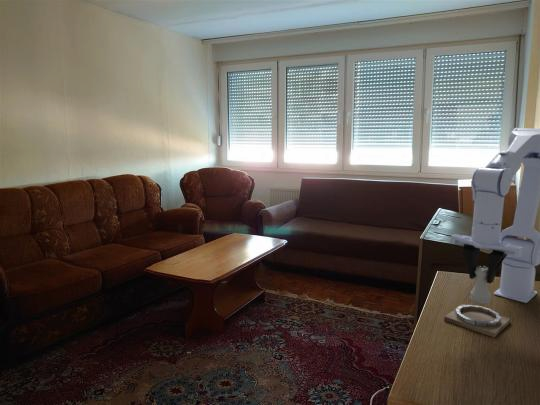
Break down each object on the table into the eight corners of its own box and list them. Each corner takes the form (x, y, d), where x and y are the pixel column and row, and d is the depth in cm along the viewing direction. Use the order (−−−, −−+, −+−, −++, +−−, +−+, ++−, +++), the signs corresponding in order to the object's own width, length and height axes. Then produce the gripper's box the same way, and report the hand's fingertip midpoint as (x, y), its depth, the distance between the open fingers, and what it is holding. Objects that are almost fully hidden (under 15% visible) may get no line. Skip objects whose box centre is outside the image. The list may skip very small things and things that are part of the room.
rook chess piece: (493, 305, 95) (496, 272, 93) (472, 304, 96) (474, 272, 94) (488, 295, 99) (490, 264, 97) (467, 295, 100) (469, 263, 98)
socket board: (461, 307, 105) (462, 300, 105) (510, 322, 97) (510, 314, 97) (444, 320, 99) (444, 312, 98) (494, 337, 91) (495, 328, 90)
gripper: (446, 219, 96) (442, 275, 99) (517, 231, 86) (510, 293, 88) (459, 214, 101) (455, 268, 103) (528, 225, 91) (520, 284, 93)
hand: (481, 279), depth 96 cm, fingers closed on rook chess piece, 3 cm apart
